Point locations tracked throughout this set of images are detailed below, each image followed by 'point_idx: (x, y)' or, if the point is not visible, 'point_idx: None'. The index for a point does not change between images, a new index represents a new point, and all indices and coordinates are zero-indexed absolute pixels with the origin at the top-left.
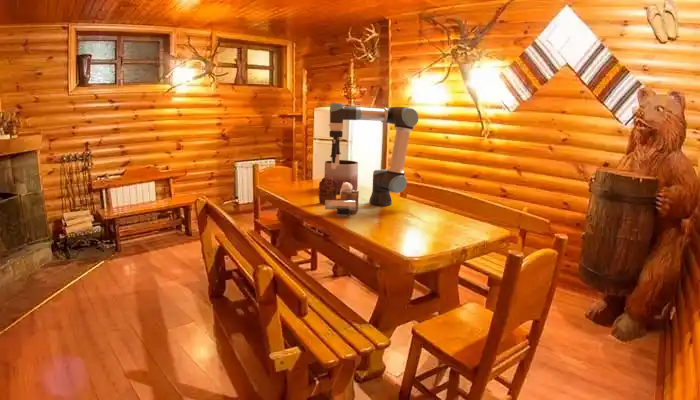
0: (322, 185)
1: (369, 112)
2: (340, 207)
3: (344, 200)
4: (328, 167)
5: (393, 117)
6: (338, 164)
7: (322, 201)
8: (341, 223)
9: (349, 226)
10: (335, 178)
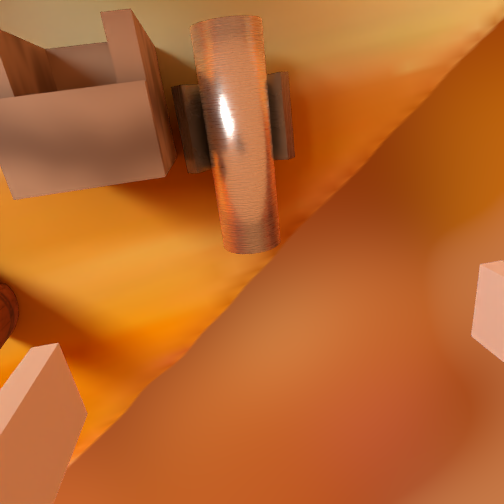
0: None
1: None
2: (290, 132)
3: (241, 118)
4: None
5: None
6: (52, 363)
7: (12, 322)
8: (393, 91)
9: (442, 30)
10: None
